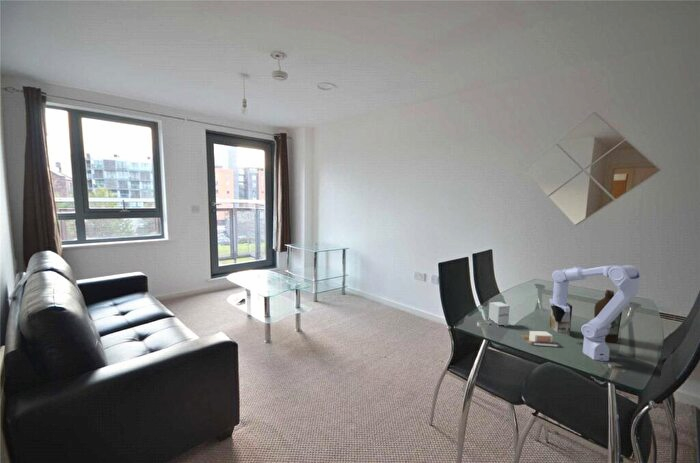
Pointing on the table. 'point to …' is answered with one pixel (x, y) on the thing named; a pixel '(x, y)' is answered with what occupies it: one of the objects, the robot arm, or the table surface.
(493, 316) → the supplement box
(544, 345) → the price rail
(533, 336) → the cream box
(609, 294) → the olive oil
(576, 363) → the table surface
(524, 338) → the tan wooden board
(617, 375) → the table surface
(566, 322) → the coffee box
